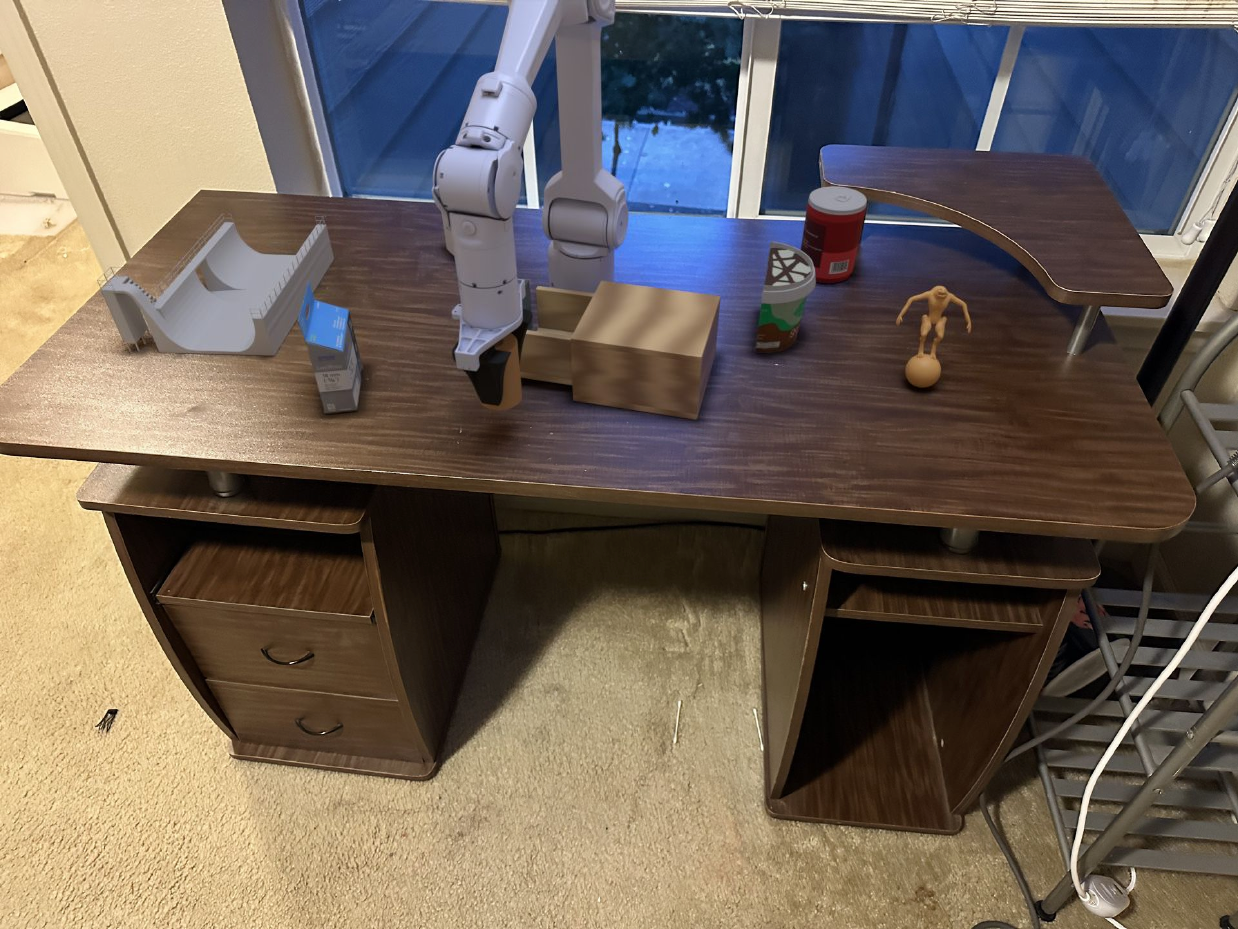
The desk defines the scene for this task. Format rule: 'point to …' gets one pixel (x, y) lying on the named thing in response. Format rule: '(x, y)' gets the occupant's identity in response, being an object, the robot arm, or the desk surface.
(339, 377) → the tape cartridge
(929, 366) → the figurine
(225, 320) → the skate ramp
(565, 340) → the drawer
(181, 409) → the desk surface
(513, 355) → the paper roll
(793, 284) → the food container
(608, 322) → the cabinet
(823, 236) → the canned food
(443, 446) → the desk surface
